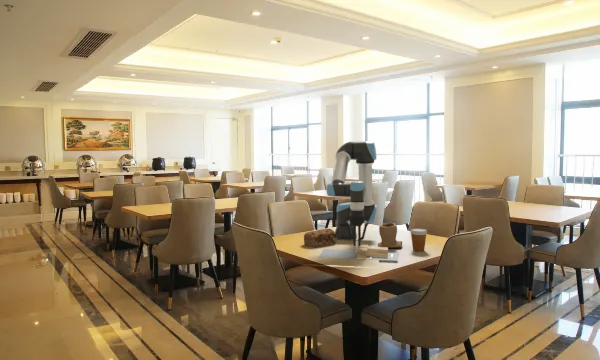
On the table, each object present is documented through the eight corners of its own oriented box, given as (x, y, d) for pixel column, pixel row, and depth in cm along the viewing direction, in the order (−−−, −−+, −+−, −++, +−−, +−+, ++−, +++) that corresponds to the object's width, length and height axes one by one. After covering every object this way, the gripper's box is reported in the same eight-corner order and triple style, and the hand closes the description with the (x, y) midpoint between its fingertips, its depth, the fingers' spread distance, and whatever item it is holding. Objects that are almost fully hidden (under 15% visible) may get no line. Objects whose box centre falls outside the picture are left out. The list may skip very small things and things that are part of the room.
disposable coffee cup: (407, 248, 256) (407, 228, 255) (423, 248, 257) (423, 228, 256) (413, 252, 246) (413, 231, 246) (429, 251, 247) (429, 231, 246)
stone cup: (378, 249, 254) (378, 224, 253) (376, 245, 265) (376, 221, 264) (404, 250, 252) (405, 224, 251) (402, 245, 264) (402, 221, 263)
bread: (327, 242, 276) (327, 227, 276) (337, 245, 268) (337, 229, 267) (303, 246, 266) (302, 230, 266) (313, 249, 257) (312, 232, 257)
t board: (324, 250, 253) (324, 248, 253) (397, 253, 244) (397, 251, 244) (318, 259, 234) (318, 257, 234) (397, 262, 225) (397, 260, 225)
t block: (359, 251, 247) (359, 244, 246) (388, 252, 243) (388, 245, 243) (357, 258, 231) (357, 250, 231) (387, 259, 228) (387, 251, 227)
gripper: (344, 210, 235) (344, 252, 237) (368, 210, 232) (368, 253, 234) (346, 208, 243) (346, 249, 244) (369, 208, 240) (369, 250, 241)
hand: (357, 251), depth 239 cm, fingers closed
